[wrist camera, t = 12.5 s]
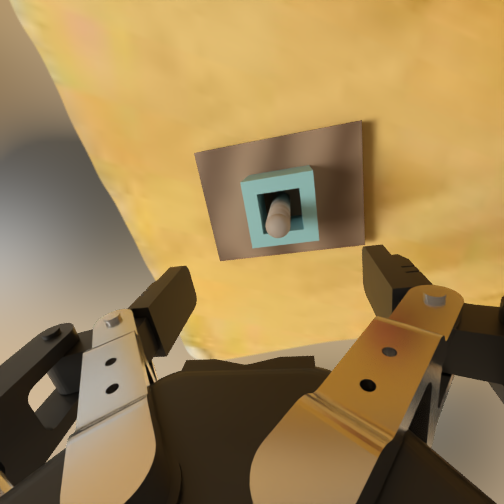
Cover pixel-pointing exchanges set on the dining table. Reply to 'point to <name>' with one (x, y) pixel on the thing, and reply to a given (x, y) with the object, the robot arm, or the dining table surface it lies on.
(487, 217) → the dining table surface
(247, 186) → the bead
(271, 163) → the stand
